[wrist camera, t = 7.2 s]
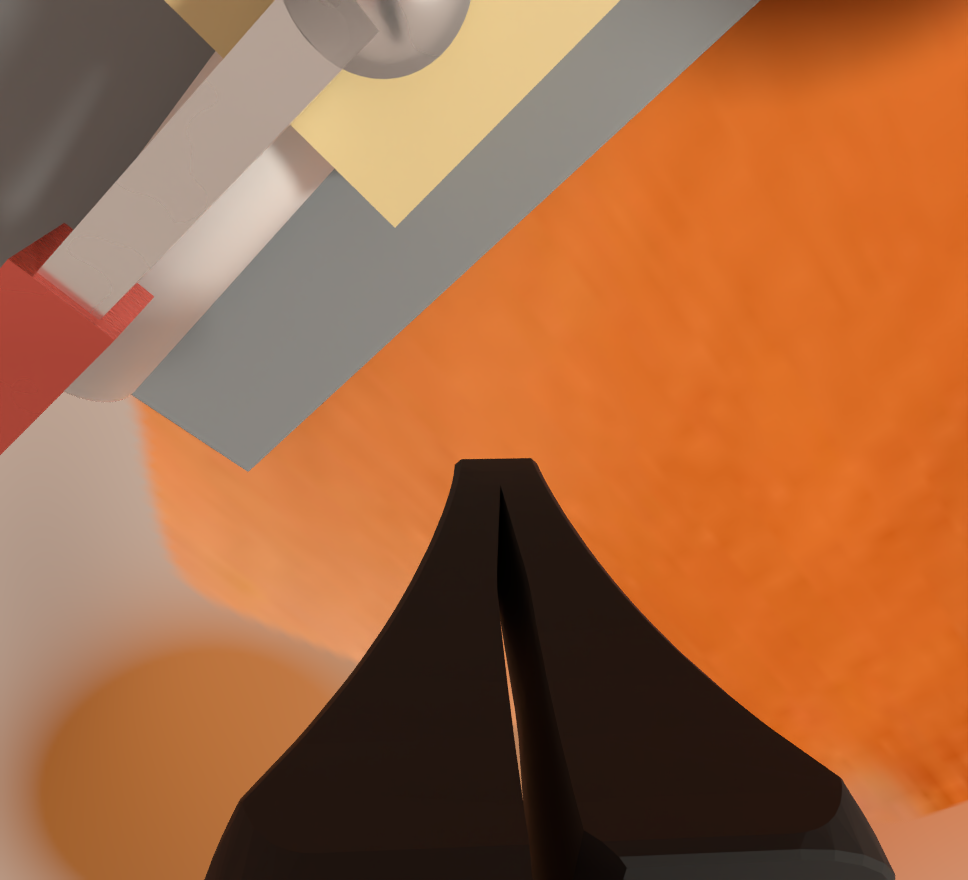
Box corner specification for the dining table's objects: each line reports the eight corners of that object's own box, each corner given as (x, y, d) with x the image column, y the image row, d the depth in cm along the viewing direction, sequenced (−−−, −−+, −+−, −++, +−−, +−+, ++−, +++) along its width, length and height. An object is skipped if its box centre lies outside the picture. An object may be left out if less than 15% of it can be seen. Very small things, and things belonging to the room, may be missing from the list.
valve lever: (505, -19, 11) (516, -18, 9) (55, 422, 15) (8, 476, 14) (386, -202, 9) (374, -240, 8) (-68, 340, 14) (-136, 389, 12)
